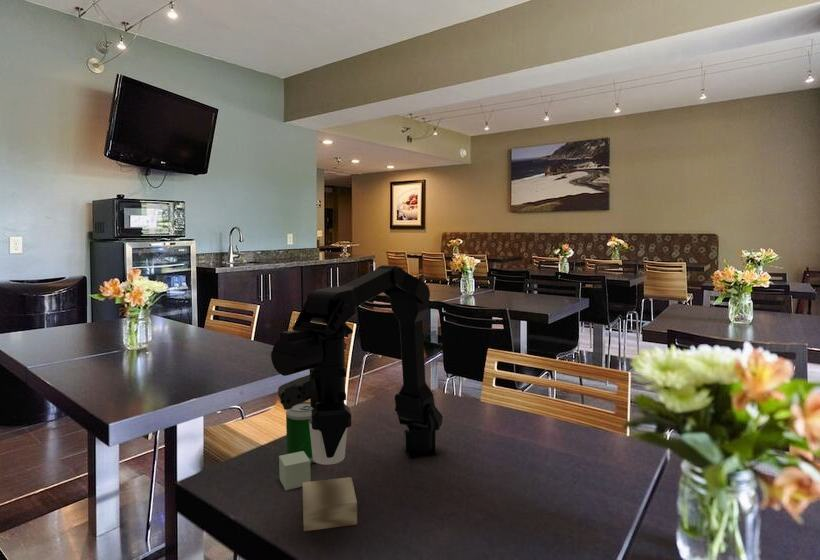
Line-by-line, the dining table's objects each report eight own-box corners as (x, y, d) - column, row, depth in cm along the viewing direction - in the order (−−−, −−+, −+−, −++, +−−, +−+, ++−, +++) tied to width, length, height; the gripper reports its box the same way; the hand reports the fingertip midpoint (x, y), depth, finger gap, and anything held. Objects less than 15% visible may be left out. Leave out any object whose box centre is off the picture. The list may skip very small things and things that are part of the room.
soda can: (313, 468, 106) (312, 413, 105) (281, 464, 108) (279, 410, 106) (326, 452, 113) (325, 401, 112) (295, 449, 115) (294, 399, 114)
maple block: (351, 497, 94) (351, 477, 94) (357, 524, 86) (356, 502, 85) (303, 502, 92) (302, 482, 92) (303, 531, 84) (303, 508, 83)
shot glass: (315, 469, 84) (315, 429, 83) (304, 453, 90) (303, 415, 89) (354, 461, 87) (353, 422, 86) (340, 446, 93) (340, 409, 92)
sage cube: (303, 474, 104) (303, 450, 103) (310, 484, 99) (310, 460, 99) (279, 479, 101) (279, 455, 101) (285, 490, 97) (284, 466, 96)
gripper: (282, 352, 94) (283, 432, 95) (278, 380, 76) (279, 478, 77) (341, 349, 96) (341, 428, 98) (351, 376, 78) (351, 471, 80)
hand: (328, 449), depth 88 cm, fingers closed on shot glass, 6 cm apart
